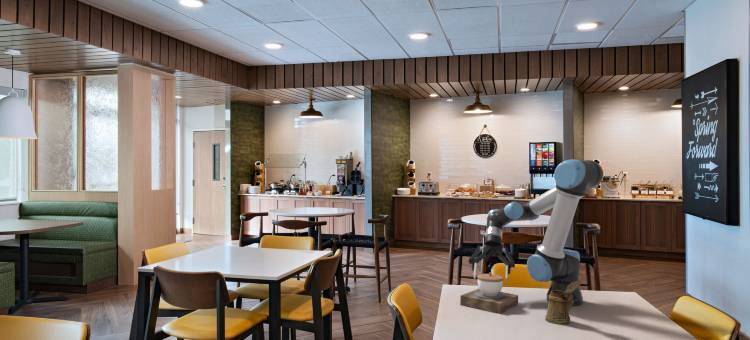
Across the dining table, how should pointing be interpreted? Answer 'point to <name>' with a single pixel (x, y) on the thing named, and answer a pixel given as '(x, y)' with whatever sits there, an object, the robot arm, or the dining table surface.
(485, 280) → the lidded jar
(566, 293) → the wooden mug
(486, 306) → the walnut plinth
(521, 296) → the dining table surface
